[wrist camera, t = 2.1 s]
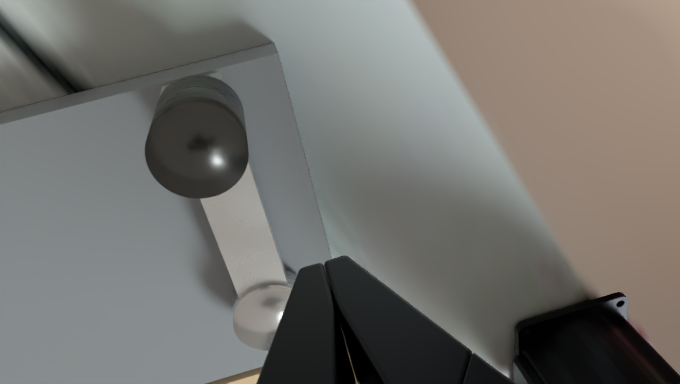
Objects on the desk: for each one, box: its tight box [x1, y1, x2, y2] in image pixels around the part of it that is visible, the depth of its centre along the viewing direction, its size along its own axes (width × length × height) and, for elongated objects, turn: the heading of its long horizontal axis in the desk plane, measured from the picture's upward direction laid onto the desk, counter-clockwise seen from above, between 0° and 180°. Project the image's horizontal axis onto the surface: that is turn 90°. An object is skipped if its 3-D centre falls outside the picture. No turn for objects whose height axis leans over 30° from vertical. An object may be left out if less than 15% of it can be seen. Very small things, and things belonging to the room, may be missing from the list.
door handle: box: [145, 71, 297, 351], centre depth 19 cm, size 12×3×4 cm, turn 11°
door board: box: [0, 43, 357, 384], centre depth 23 cm, size 15×22×4 cm
